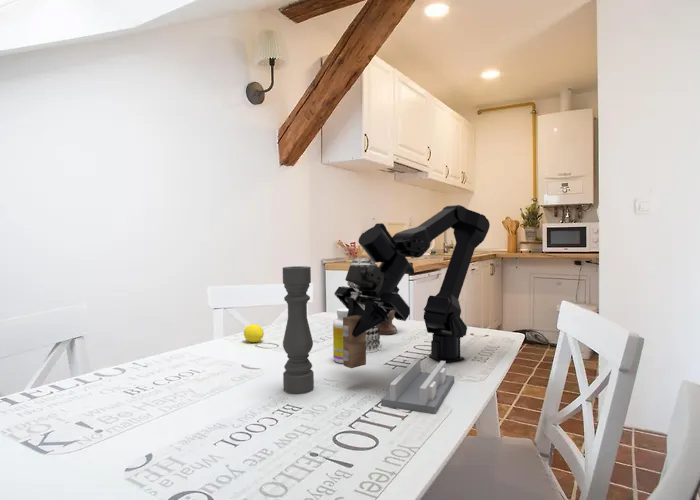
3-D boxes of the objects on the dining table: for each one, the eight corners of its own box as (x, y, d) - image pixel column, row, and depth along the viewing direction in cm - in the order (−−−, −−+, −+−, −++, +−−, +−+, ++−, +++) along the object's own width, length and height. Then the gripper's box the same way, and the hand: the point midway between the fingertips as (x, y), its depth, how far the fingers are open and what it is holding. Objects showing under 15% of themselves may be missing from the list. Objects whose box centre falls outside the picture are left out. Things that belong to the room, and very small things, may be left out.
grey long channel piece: (408, 376, 97) (408, 357, 97) (454, 381, 93) (454, 362, 93) (381, 405, 81) (380, 382, 81) (435, 413, 77) (434, 390, 77)
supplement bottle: (357, 365, 106) (356, 312, 106) (330, 363, 107) (329, 311, 107) (362, 357, 113) (361, 307, 112) (336, 356, 114) (336, 307, 113)
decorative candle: (379, 344, 126) (378, 256, 125) (383, 352, 116) (382, 258, 116) (347, 344, 125) (346, 257, 125) (348, 353, 116) (347, 259, 115)
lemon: (267, 343, 131) (269, 325, 130) (254, 347, 126) (256, 328, 126) (250, 337, 135) (252, 320, 134) (237, 340, 130) (238, 323, 130)
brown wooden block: (358, 361, 93) (357, 315, 93) (366, 364, 91) (365, 316, 91) (340, 366, 90) (339, 318, 90) (347, 369, 88) (347, 319, 88)
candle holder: (318, 385, 92) (316, 266, 91) (306, 395, 86) (303, 268, 85) (291, 382, 94) (289, 266, 93) (278, 392, 88) (275, 268, 87)
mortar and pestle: (383, 338, 132) (383, 272, 131) (360, 335, 137) (359, 271, 136) (403, 331, 141) (402, 269, 140) (380, 328, 146) (380, 268, 146)
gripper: (340, 250, 100) (300, 304, 93) (399, 253, 85) (356, 316, 79) (366, 282, 105) (330, 335, 98) (426, 289, 91) (388, 352, 84)
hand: (349, 334), depth 90 cm, fingers closed on brown wooden block, 2 cm apart
